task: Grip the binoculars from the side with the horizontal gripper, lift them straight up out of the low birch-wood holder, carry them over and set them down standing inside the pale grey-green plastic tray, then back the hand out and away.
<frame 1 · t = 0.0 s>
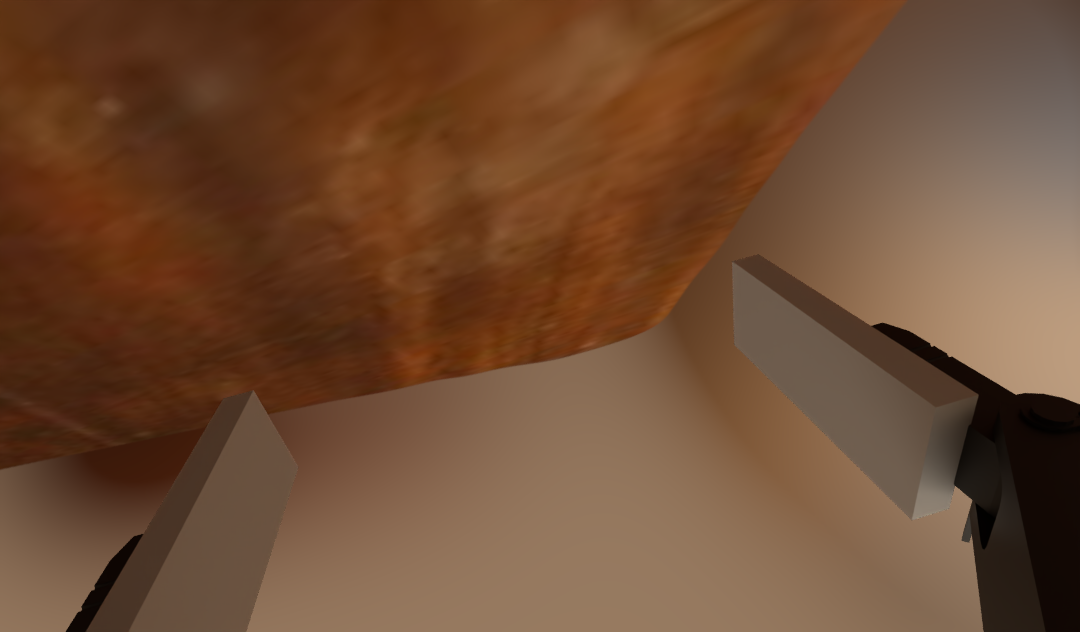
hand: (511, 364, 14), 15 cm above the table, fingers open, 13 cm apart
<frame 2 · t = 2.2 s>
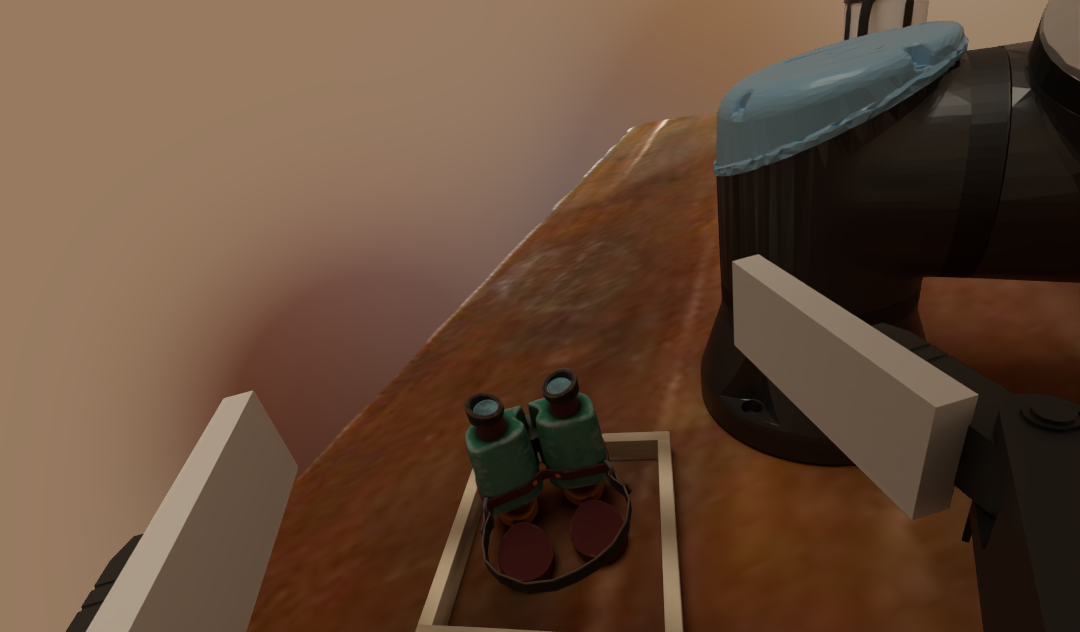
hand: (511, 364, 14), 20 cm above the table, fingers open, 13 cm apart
binoculars: (565, 542, 33), on the table
coffee press: (874, 117, 96), on the table
holder: (564, 539, 32), on the table
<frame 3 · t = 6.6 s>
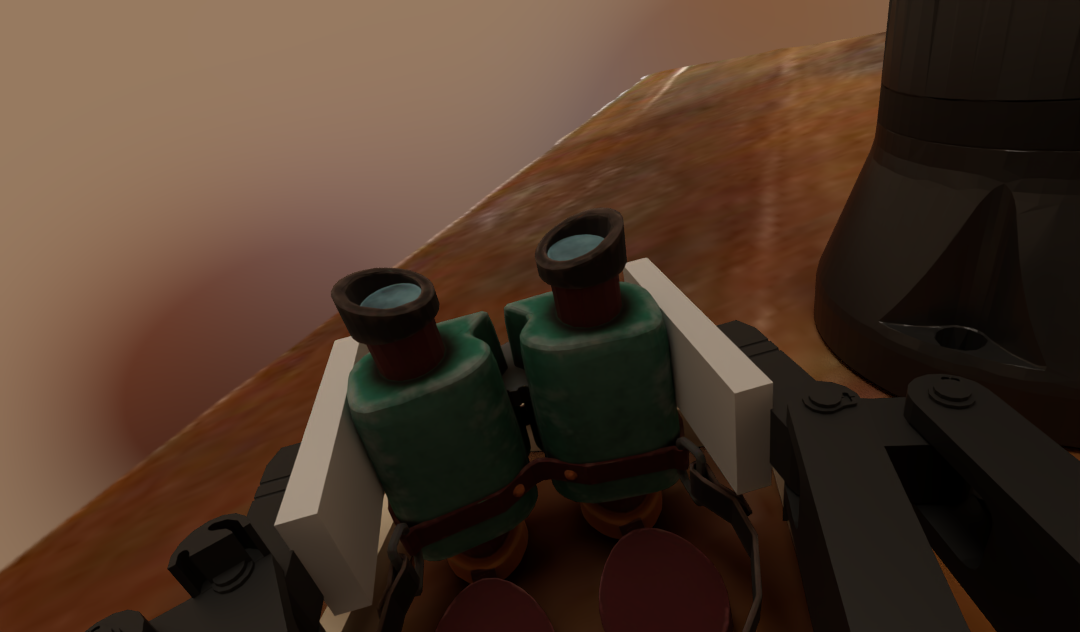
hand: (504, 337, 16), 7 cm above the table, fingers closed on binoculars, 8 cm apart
binoculars: (585, 622, 15), on the table, touching gripper
holder: (582, 618, 15), on the table
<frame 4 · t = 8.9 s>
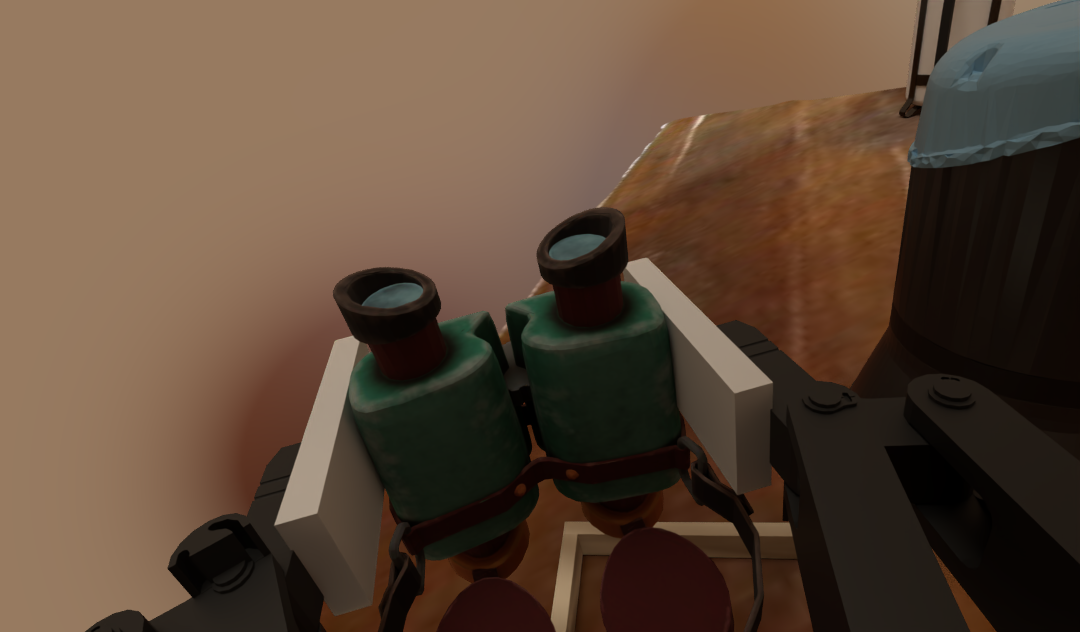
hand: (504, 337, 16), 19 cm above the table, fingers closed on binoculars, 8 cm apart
binoculars: (586, 621, 15), point 12 cm above the table, touching gripper
coffee press: (947, 111, 86), on the table
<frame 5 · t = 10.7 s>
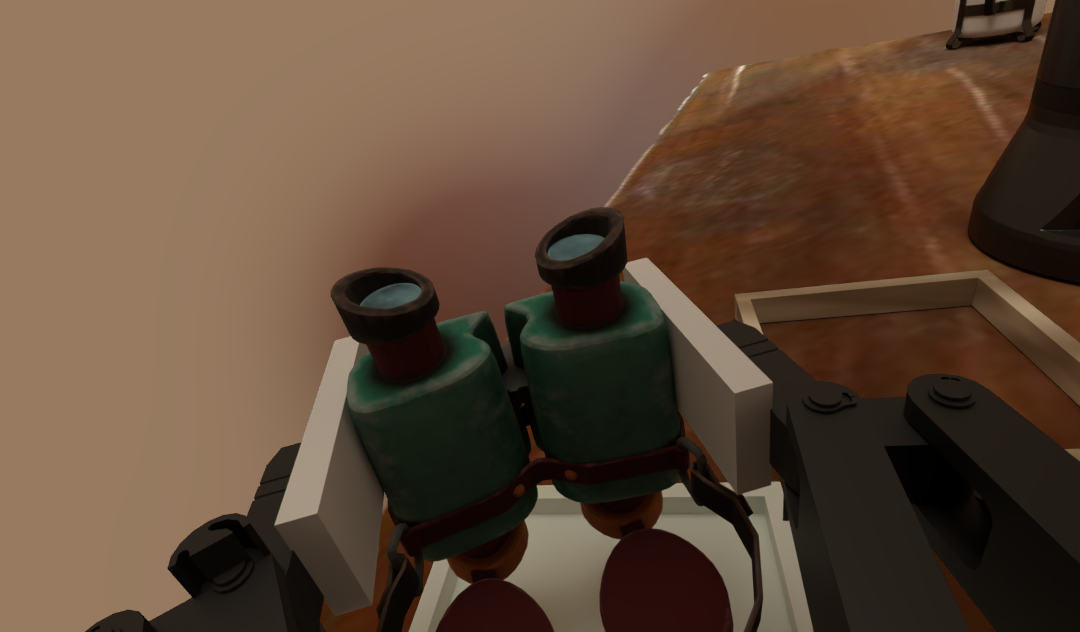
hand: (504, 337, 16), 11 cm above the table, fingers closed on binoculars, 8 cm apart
binoculars: (585, 623, 15), point 4 cm above the table, touching gripper
coffee press: (993, 42, 90), on the table
holder: (901, 382, 26), on the table
when the fingers open (9 cm above the table, at t = 11.5 s): binoculars drops 1 cm, resting on tray.
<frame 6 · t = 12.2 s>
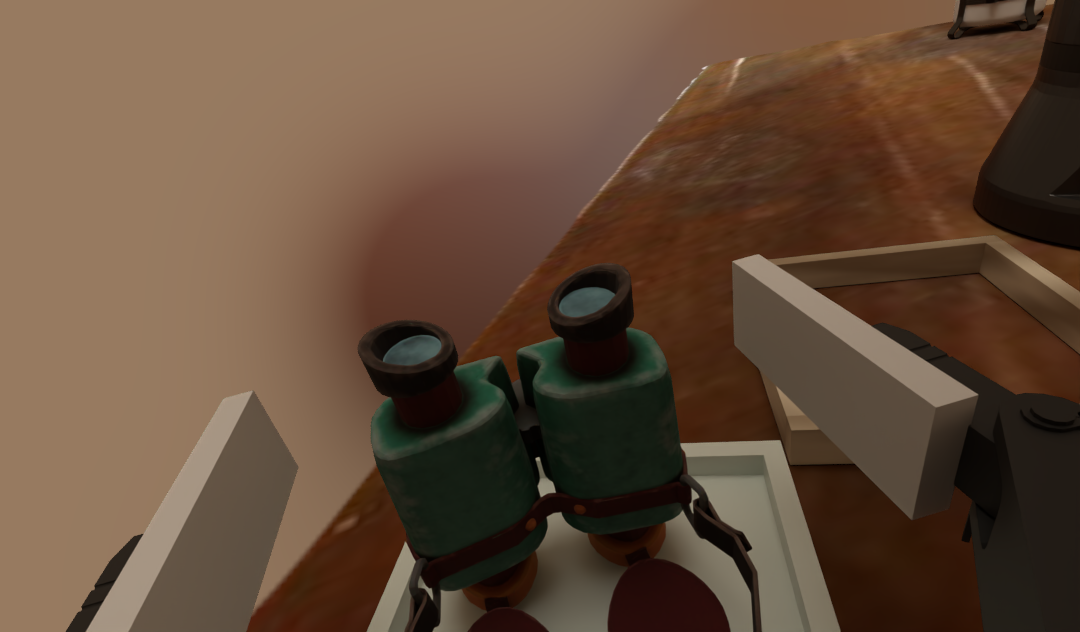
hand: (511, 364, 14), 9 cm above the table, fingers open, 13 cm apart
coffee press: (995, 31, 89), on the table
holder: (906, 346, 25), on the table
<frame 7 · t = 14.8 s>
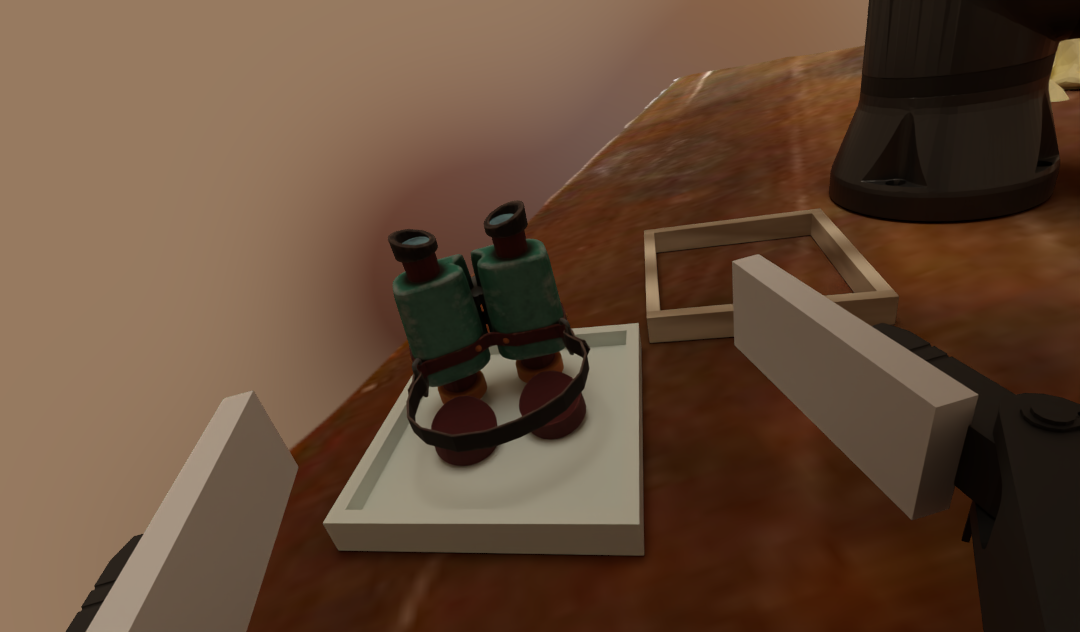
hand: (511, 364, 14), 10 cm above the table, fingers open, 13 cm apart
binoculars: (514, 422, 28), point 1 cm above the table, touching tray
cloth: (1053, 92, 64), on the table
holder: (744, 279, 37), on the table
tray: (514, 432, 28), on the table
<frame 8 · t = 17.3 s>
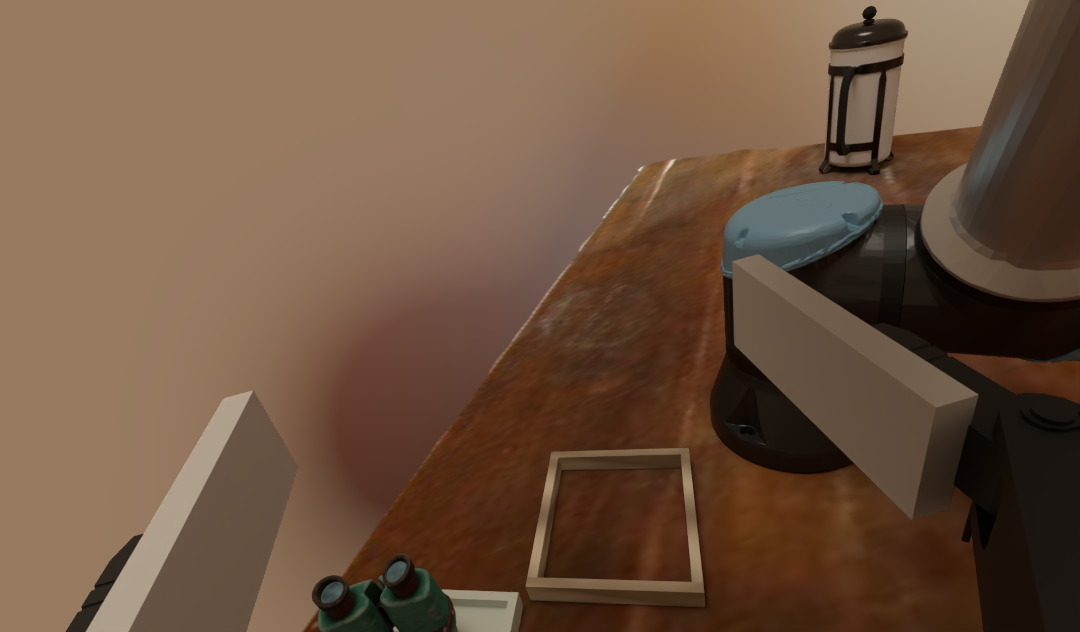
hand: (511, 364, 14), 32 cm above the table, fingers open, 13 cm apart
coffee press: (855, 169, 111), on the table
holder: (617, 524, 47), on the table
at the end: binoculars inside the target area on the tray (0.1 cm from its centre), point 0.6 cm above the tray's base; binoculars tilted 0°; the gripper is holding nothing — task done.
